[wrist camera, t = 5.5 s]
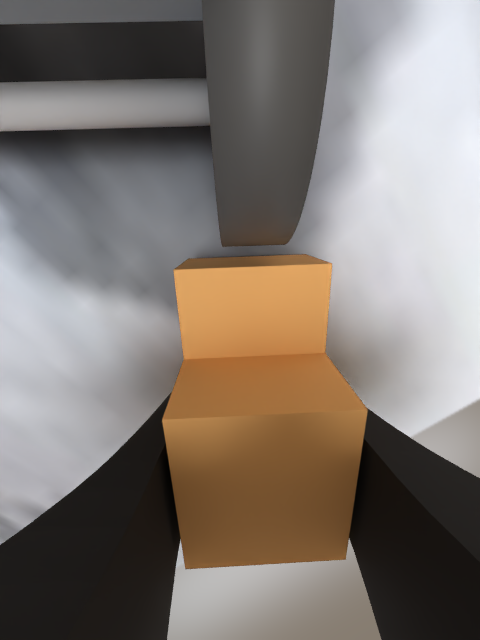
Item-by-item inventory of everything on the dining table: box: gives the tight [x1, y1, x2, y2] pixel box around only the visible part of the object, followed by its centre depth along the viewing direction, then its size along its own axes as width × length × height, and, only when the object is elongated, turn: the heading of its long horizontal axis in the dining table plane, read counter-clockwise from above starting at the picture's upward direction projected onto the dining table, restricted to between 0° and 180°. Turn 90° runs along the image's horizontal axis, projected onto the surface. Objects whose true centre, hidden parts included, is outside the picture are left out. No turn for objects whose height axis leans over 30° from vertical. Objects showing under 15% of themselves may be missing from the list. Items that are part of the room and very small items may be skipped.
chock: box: [162, 254, 368, 569], centre depth 8 cm, size 7×4×5 cm, turn 2°
